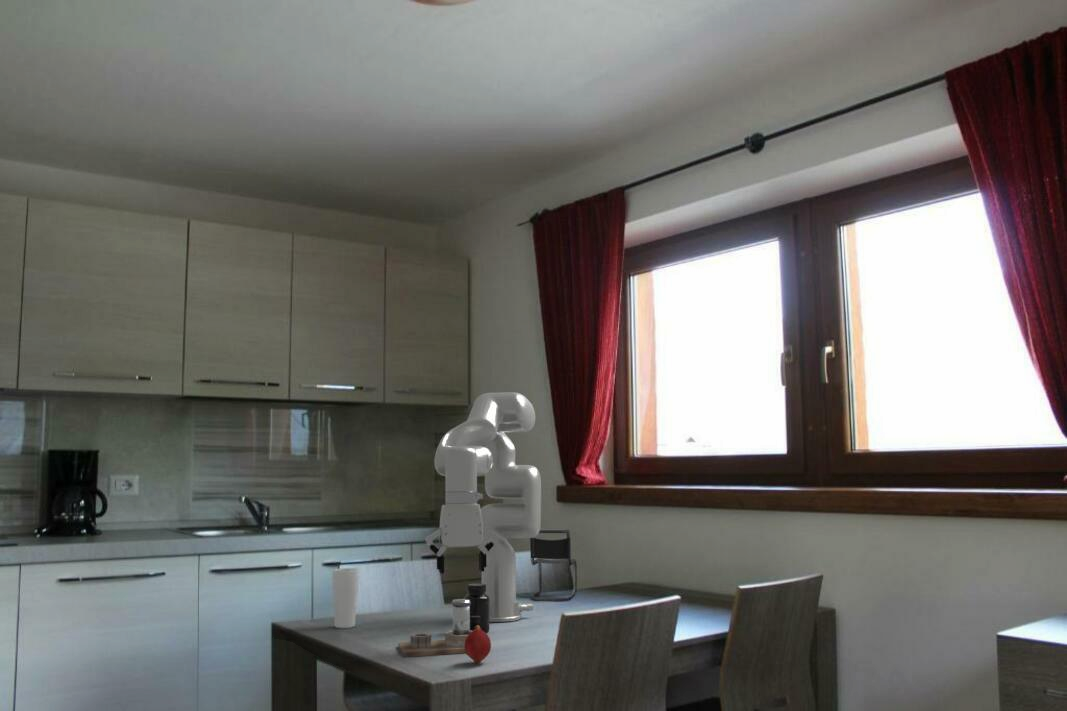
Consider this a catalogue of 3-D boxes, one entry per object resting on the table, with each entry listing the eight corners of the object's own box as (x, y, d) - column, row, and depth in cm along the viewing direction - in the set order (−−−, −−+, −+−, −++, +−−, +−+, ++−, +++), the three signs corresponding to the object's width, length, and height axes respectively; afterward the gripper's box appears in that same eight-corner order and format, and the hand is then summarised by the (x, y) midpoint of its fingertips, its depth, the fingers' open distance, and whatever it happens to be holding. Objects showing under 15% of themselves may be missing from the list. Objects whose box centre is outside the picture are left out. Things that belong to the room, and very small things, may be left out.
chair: (528, 601, 291) (527, 529, 293) (538, 593, 308) (537, 525, 310) (569, 601, 289) (568, 529, 291) (577, 594, 305) (576, 526, 308)
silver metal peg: (468, 641, 221) (468, 598, 222) (472, 645, 217) (472, 601, 218) (450, 642, 220) (450, 599, 221) (453, 646, 216) (453, 601, 217)
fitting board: (476, 642, 225) (476, 627, 226) (487, 651, 214) (487, 636, 214) (398, 646, 220) (398, 631, 221) (404, 657, 209) (404, 641, 209)
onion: (464, 660, 205) (464, 623, 206) (490, 659, 205) (490, 622, 206) (464, 666, 199) (464, 627, 200) (491, 665, 199) (491, 627, 200)
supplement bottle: (469, 635, 234) (469, 587, 235) (458, 631, 240) (458, 583, 241) (494, 633, 237) (494, 585, 238) (483, 629, 243) (483, 582, 244)
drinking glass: (351, 629, 243) (352, 571, 245) (327, 629, 245) (328, 570, 246) (361, 625, 250) (362, 568, 252) (338, 624, 251) (338, 568, 253)
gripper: (493, 496, 228) (493, 567, 227) (422, 499, 224) (423, 571, 222) (500, 498, 221) (500, 572, 219) (427, 501, 216) (427, 575, 215)
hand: (461, 571), depth 221 cm, fingers open, 9 cm apart
